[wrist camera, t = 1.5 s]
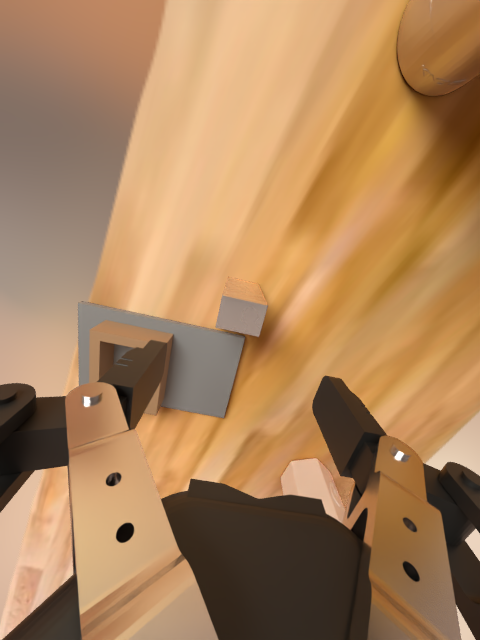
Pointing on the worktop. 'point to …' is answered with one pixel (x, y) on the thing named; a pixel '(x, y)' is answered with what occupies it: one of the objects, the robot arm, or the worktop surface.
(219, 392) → the board
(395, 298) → the worktop surface
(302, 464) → the jar
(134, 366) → the robot arm
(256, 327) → the block
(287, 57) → the worktop surface
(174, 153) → the worktop surface
